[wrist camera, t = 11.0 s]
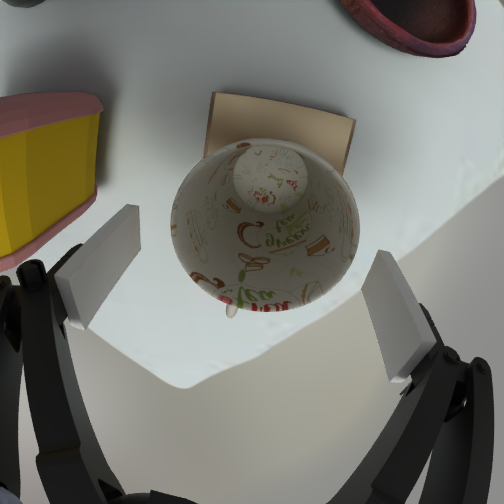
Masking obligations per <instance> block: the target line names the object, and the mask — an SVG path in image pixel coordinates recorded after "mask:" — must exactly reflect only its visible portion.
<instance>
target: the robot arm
mask: <svg viewBox="0 0 504 504" xmlns="http://www.w3.org/2000/svg"><path fill="white" fill-rule="evenodd" d="M2 1H4V2H6V3H7V4H9V5H11V6H14V7H23V8H29V7H33V6H35V5H37V4H39V3H41V2H43V1H44V0H2ZM140 250H141V243H140V219H139V206H137V205H130V204H127V205H125V206H124V207H123V208H122V209H121V210H120V211H119V212H117V213H116V214H115V215H114V216H113V217H112V218H111V219H110V220H109V221H107V222H106V223H105V224H104V225H103V226H102V227H101V228H100V229H99V230H98V231H97V232H96V233H95V234H94V235H93V236H92V237H90V238H89V239H88V240H87V241H86V242H85V243H84V244H81V243H80V244H78V245H76V246H74V247H72V248H71V249H70V250H69V251H68V252H67V253H66V254H65V256H63V257H62V258H61V259H60V261H58V262H57V263H56V264H55V265H54V266H53V267H52V268H51V269H50V270H49V271H48V272H47V273H46V271H45V267H44V264H43V262H42V261H41V260H37V259H33V260H28V261H26V262H24V263H23V264H21V265H20V266H19V267H18V268H17V271H16V274H17V277H18V280H19V282H20V285H21V286H18V285H17V286H16V285H12V283H11V280H10V278H9V277H8V276H4V275H2V276H0V504H22V502H21V501H20V468H19V451H18V412H19V395H20V384H21V375H22V367H23V365H24V375H25V383H26V390H27V396H28V402H29V408H30V412H31V418H32V422H33V427H34V431H35V435H36V439H37V443H38V447H39V454H38V455H37V456H36V465H37V470H38V473H39V476H40V479H41V481H42V484H43V487H44V490H45V492H46V495H47V497H48V500H49V502H50V504H197V503H195V502H193V501H190V500H188V499H186V498H181V497H177V496H173V495H169V494H164V493H161V492H157V491H153V490H151V491H150V493H134V494H128V495H126V494H125V492H124V490H123V489H122V487H121V485H120V483H119V481H118V480H117V478H116V476H115V475H114V473H113V472H112V471H111V469H110V467H109V466H108V464H107V462H106V459H105V457H104V455H103V453H102V450H101V448H100V446H99V443H98V441H97V438H96V436H95V433H94V430H93V428H92V425H91V423H90V420H89V417H88V414H87V411H86V408H85V405H84V402H83V399H82V396H81V392H80V389H79V385H78V382H77V378H76V374H75V370H74V366H73V362H72V358H71V354H70V349H69V344H68V340H67V334H66V329H65V325H64V323H63V322H64V320H65V319H66V318H67V316H68V319H69V322H70V324H71V326H73V327H76V328H79V329H81V330H84V331H85V330H86V328H87V326H88V325H89V323H90V322H91V320H92V318H93V317H94V315H95V314H96V312H97V311H98V309H99V308H100V306H101V305H102V303H103V302H104V300H105V299H106V297H107V296H108V294H109V293H110V291H111V290H112V289H113V287H114V286H115V284H116V283H117V281H118V280H119V279H120V277H121V276H122V274H123V273H124V272H125V270H126V269H127V267H128V266H129V265H130V263H131V262H132V261H133V259H134V258H135V256H136V255H137V254H138V252H139V251H140ZM361 290H362V292H363V295H364V298H365V301H366V304H367V307H368V310H369V313H370V317H371V320H372V323H373V326H374V329H375V332H376V335H377V339H378V343H379V346H380V349H381V353H382V356H383V360H384V364H385V367H386V371H387V375H388V379H389V382H404V381H405V379H406V378H407V377H408V376H409V375H411V378H412V381H411V383H410V384H409V385H408V386H407V387H406V388H405V389H404V390H403V391H402V392H401V393H400V395H402V394H403V393H404V394H403V396H402V398H401V400H400V402H399V404H398V405H397V407H396V409H395V411H394V412H393V414H392V416H391V417H390V419H389V421H388V422H387V424H386V426H385V428H384V429H383V431H382V432H381V434H380V435H379V437H378V439H377V440H376V442H375V443H374V445H373V446H372V448H371V449H370V450H369V452H368V453H367V455H366V456H365V458H364V459H363V460H362V462H361V463H360V465H359V466H358V467H357V469H356V470H355V471H354V473H353V474H352V475H351V476H350V478H349V479H348V480H347V482H346V483H345V484H344V485H343V486H342V488H341V489H340V490H339V492H338V493H337V494H336V495H335V496H334V497H333V498H332V499H331V500H330V501H329V502H328V503H326V504H405V502H406V499H407V498H408V496H409V494H410V493H411V491H412V489H413V487H414V485H415V484H416V482H417V480H418V478H419V476H420V474H421V472H422V470H423V468H424V466H425V464H426V462H427V460H428V458H429V456H430V453H431V451H432V455H431V459H430V463H429V468H428V472H427V476H426V480H425V483H424V488H423V491H422V494H421V498H420V500H419V504H487V499H488V493H489V487H490V480H491V472H492V462H493V448H494V447H493V446H494V400H493V385H492V375H491V369H490V367H489V365H488V363H487V362H486V361H485V360H484V359H482V358H480V357H475V358H474V359H473V360H472V362H471V363H470V364H469V363H466V362H463V361H461V360H460V357H459V355H458V354H457V352H456V351H455V350H454V349H452V348H450V347H448V346H444V343H443V341H442V339H441V337H440V335H439V333H438V331H437V329H436V327H435V326H434V325H435V324H434V322H433V320H431V316H430V314H429V312H428V311H427V309H425V307H424V306H423V305H422V304H421V303H418V301H417V300H416V298H415V296H414V294H413V292H412V290H411V288H410V286H409V285H408V283H407V281H406V279H405V277H404V275H403V274H402V272H401V270H400V268H399V267H398V265H397V263H396V261H395V260H394V258H393V256H392V254H391V253H390V252H387V251H383V250H378V252H377V255H376V257H375V259H374V262H373V264H372V266H371V268H370V271H369V273H368V275H367V277H366V279H365V282H364V284H363V286H362V288H361ZM465 401H466V404H465V406H464V402H465Z"/></svg>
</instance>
